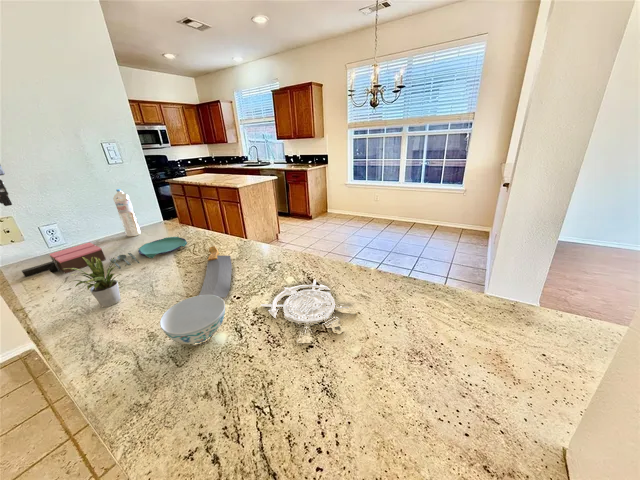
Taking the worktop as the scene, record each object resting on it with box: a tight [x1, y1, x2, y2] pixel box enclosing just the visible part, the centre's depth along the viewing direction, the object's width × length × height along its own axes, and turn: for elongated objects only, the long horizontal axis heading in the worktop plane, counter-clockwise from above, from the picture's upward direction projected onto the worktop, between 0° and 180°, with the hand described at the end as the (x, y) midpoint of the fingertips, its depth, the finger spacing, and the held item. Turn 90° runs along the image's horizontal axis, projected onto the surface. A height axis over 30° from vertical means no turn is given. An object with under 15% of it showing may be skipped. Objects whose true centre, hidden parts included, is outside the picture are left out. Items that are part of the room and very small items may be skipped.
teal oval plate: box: [109, 236, 188, 270], centre depth 120 cm, size 20×30×2 cm, turn 138°
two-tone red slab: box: [48, 242, 107, 275], centre depth 113 cm, size 14×14×6 cm
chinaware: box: [159, 294, 226, 345], centre depth 68 cm, size 15×15×8 cm
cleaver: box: [197, 245, 233, 300], centre depth 100 cm, size 4×10×40 cm
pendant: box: [259, 278, 349, 333], centre depth 77 cm, size 21×28×1 cm
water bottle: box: [112, 188, 142, 238], centre depth 139 cm, size 7×7×25 cm
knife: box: [21, 260, 61, 278], centre depth 109 cm, size 22×2×4 cm, turn 146°
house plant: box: [65, 256, 123, 308], centre depth 82 cm, size 14×14×16 cm
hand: (6, 204), depth 108 cm, fingers open, 8 cm apart
